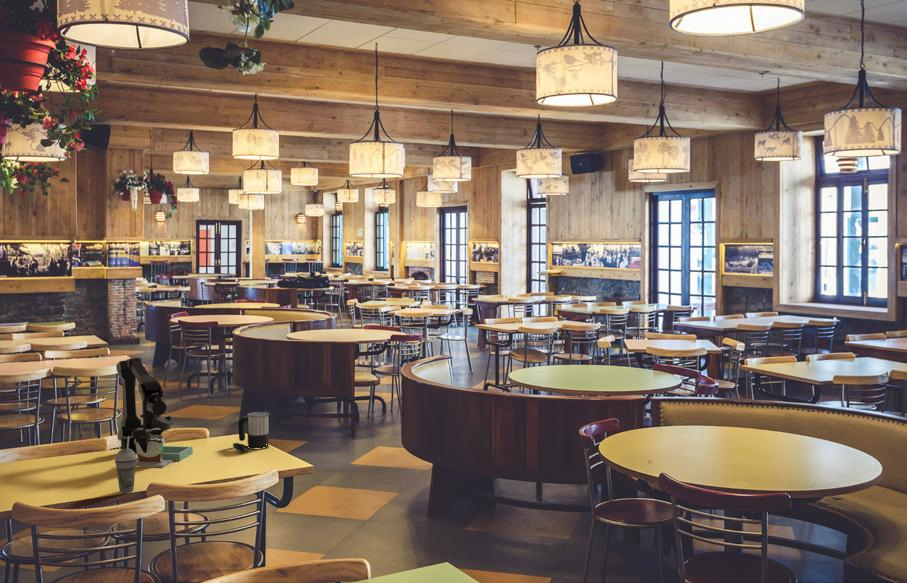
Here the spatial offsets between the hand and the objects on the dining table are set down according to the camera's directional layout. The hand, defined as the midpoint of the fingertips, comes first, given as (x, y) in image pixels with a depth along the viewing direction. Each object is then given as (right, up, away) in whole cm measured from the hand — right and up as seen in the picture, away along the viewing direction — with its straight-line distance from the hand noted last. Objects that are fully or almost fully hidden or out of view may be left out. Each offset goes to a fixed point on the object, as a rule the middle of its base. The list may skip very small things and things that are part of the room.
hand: (150, 449), depth 326 cm
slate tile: (0, -6, 0) cm, 6 cm away
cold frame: (+1, -5, +13) cm, 14 cm away
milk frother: (+34, -5, +25) cm, 43 cm away
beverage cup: (+5, -8, -36) cm, 37 cm away
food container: (0, -5, +2) cm, 5 cm away
